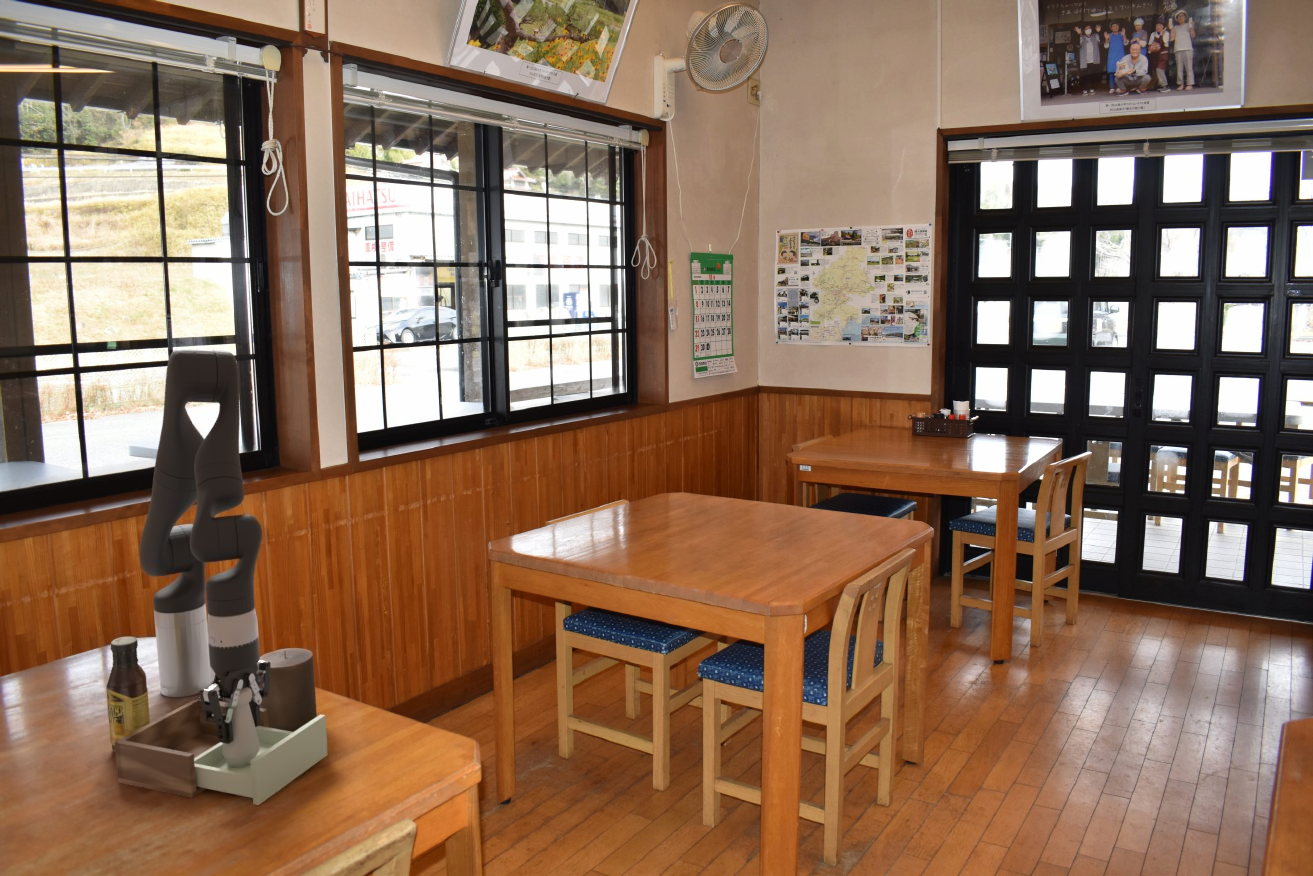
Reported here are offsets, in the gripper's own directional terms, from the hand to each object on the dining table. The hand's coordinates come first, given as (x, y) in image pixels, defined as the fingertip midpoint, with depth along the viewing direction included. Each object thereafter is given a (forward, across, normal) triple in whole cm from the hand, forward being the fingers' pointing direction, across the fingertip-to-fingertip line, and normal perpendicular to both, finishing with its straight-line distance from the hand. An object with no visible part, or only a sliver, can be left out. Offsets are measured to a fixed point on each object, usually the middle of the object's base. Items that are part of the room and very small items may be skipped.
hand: (240, 733), depth 162 cm
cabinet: (+7, 0, +10) cm, 12 cm away
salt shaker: (+5, 0, 0) cm, 5 cm away
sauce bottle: (+7, +1, +24) cm, 26 cm away
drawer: (+6, 0, -3) cm, 7 cm away
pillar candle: (+7, +16, +4) cm, 18 cm away
